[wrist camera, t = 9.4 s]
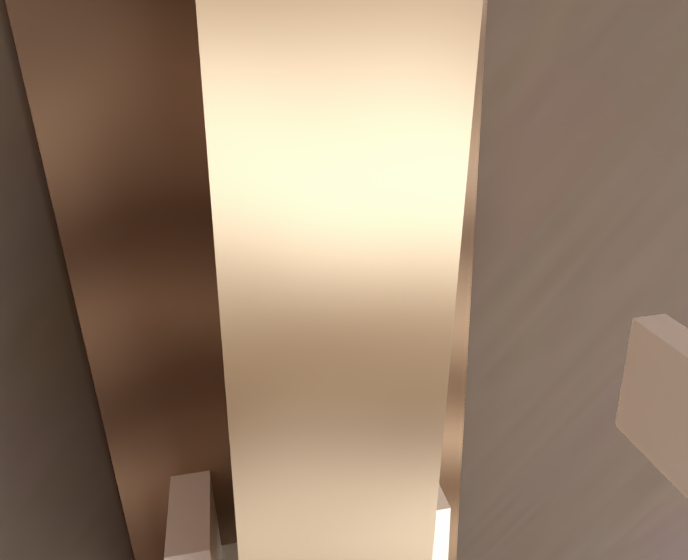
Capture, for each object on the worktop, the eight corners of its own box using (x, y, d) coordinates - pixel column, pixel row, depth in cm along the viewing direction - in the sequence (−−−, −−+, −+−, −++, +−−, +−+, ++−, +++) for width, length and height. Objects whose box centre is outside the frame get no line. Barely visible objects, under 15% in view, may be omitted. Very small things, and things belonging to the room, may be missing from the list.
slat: (336, 501, 27) (410, 796, 17) (240, 514, 26) (259, 830, 16) (341, -186, 17) (524, -450, 7) (188, -196, 16) (156, -505, 6)
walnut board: (444, 551, 31) (455, 576, 30) (154, 605, 29) (152, 634, 28) (489, -456, 16) (514, -496, 15) (-94, -506, 14) (-125, -559, 13)
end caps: (415, 536, 28) (445, 614, 25) (189, 577, 27) (186, 666, 23) (432, -337, 16) (496, -436, 12) (15, -360, 14) (-50, -480, 11)
